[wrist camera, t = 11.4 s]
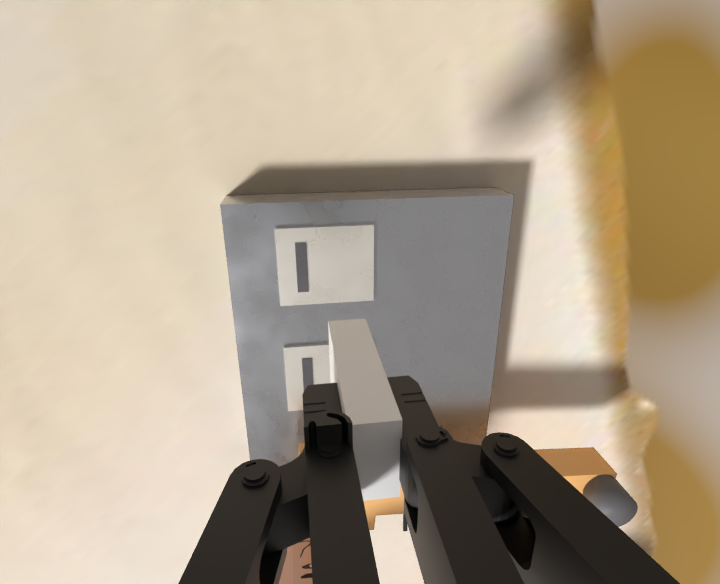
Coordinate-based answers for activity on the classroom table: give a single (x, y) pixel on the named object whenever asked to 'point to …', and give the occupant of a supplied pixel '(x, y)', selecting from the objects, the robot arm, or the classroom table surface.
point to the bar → (572, 464)
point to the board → (366, 298)
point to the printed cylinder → (297, 564)
